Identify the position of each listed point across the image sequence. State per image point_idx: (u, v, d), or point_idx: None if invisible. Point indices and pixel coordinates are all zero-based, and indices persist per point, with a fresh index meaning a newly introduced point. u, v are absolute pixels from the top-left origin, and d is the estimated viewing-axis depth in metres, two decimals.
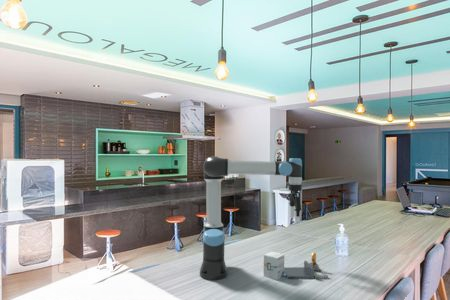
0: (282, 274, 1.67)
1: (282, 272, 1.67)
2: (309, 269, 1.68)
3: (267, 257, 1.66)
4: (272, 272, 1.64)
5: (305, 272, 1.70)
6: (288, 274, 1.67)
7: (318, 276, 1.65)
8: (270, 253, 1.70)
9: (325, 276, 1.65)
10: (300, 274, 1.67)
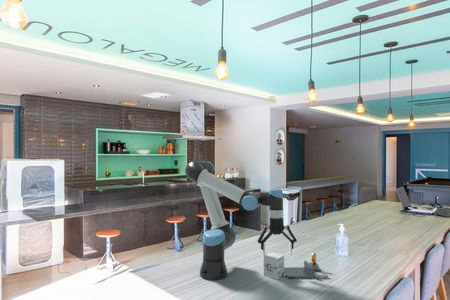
0: (282, 275, 1.67)
1: (282, 273, 1.67)
2: (309, 269, 1.68)
3: (267, 258, 1.66)
4: (272, 273, 1.64)
5: (305, 272, 1.70)
6: (288, 274, 1.67)
7: (318, 276, 1.65)
8: (270, 254, 1.70)
9: (325, 276, 1.65)
10: (300, 274, 1.67)
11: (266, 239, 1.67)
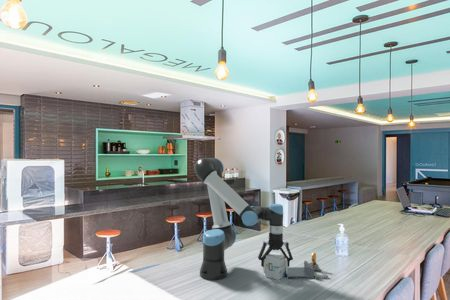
0: (283, 274, 1.67)
1: (283, 272, 1.67)
2: (309, 269, 1.68)
3: (268, 257, 1.66)
4: (274, 272, 1.64)
5: (305, 272, 1.70)
6: (288, 274, 1.67)
7: (318, 276, 1.65)
8: (271, 253, 1.70)
9: (325, 276, 1.65)
10: (300, 274, 1.67)
11: None
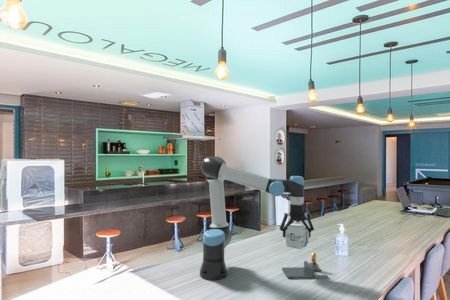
0: (305, 244, 1.70)
1: (305, 242, 1.69)
2: (309, 269, 1.68)
3: (290, 228, 1.68)
4: (296, 242, 1.67)
5: (305, 272, 1.70)
6: (288, 274, 1.67)
7: (318, 276, 1.65)
8: (292, 224, 1.72)
9: (325, 276, 1.65)
10: (300, 274, 1.67)
11: None
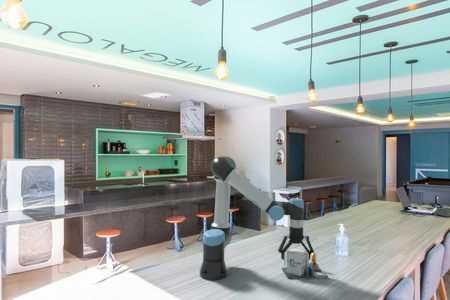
0: (305, 270, 1.70)
1: (304, 268, 1.69)
2: (309, 269, 1.68)
3: (290, 254, 1.68)
4: (295, 268, 1.66)
5: (305, 272, 1.70)
6: (288, 274, 1.67)
7: (318, 276, 1.65)
8: (292, 250, 1.72)
9: (325, 276, 1.65)
10: None
11: (286, 249, 1.70)
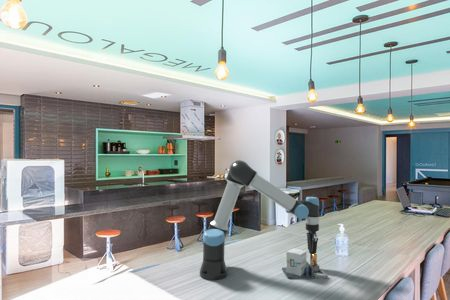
0: (305, 270, 1.70)
1: (304, 268, 1.69)
2: (309, 269, 1.68)
3: (290, 254, 1.68)
4: (295, 268, 1.66)
5: (305, 272, 1.70)
6: (288, 274, 1.67)
7: (318, 276, 1.65)
8: (292, 250, 1.72)
9: (325, 276, 1.65)
10: None
11: (309, 245, 1.82)
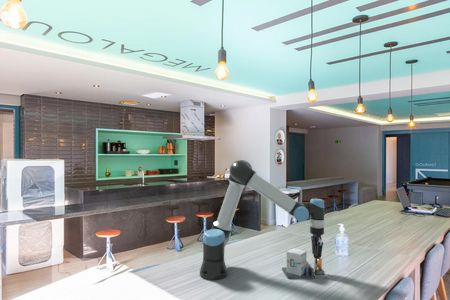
0: (305, 270, 1.70)
1: (304, 268, 1.69)
2: (309, 269, 1.68)
3: (290, 254, 1.68)
4: (295, 268, 1.66)
5: (305, 272, 1.70)
6: (288, 274, 1.67)
7: (318, 276, 1.65)
8: (292, 250, 1.72)
9: (325, 276, 1.65)
10: None
11: (314, 250, 1.74)
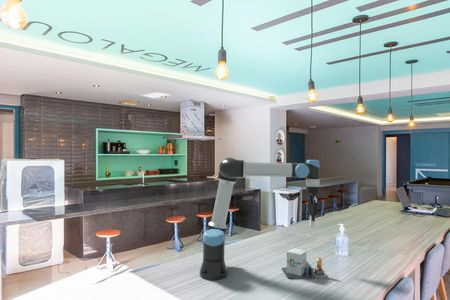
0: (305, 270, 1.70)
1: (304, 268, 1.69)
2: (309, 269, 1.68)
3: (290, 254, 1.68)
4: (295, 268, 1.66)
5: (305, 272, 1.70)
6: (288, 274, 1.67)
7: (318, 276, 1.65)
8: (292, 250, 1.72)
9: (325, 276, 1.65)
10: None
11: (310, 208, 1.82)
